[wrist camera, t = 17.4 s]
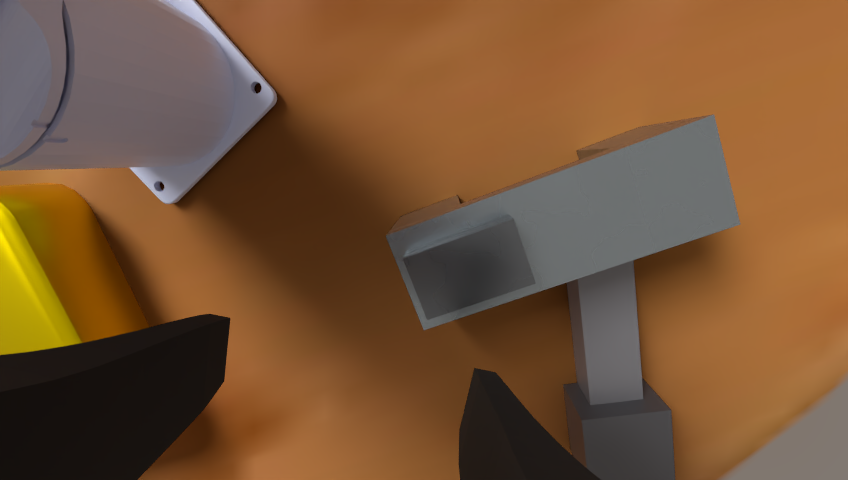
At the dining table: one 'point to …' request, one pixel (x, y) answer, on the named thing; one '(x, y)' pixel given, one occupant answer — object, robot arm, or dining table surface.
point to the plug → (614, 384)
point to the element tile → (58, 273)
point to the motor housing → (566, 220)
